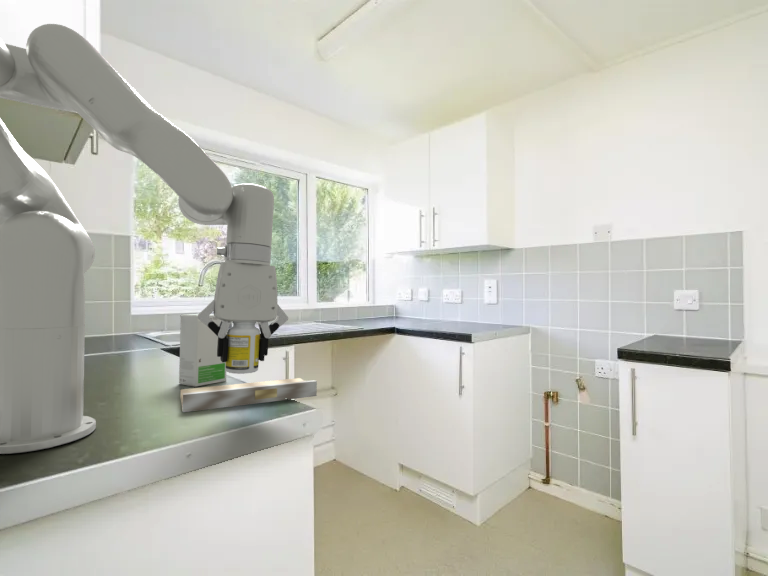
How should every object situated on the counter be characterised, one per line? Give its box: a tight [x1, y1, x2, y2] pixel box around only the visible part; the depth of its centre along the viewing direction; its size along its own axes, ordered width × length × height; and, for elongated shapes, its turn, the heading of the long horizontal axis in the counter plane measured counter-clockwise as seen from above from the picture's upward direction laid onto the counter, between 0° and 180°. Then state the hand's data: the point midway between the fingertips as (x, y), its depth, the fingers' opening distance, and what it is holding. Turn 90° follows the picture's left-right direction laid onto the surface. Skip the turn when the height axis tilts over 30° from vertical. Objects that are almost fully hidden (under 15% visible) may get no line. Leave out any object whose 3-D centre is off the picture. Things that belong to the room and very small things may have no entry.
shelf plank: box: [179, 377, 318, 413], centre depth 79 cm, size 24×11×3 cm, turn 119°
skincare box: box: [178, 313, 227, 388], centre depth 91 cm, size 8×7×16 cm
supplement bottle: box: [226, 322, 260, 375], centre depth 69 cm, size 5×5×10 cm
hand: (242, 359), depth 69 cm, fingers closed on supplement bottle, 5 cm apart
